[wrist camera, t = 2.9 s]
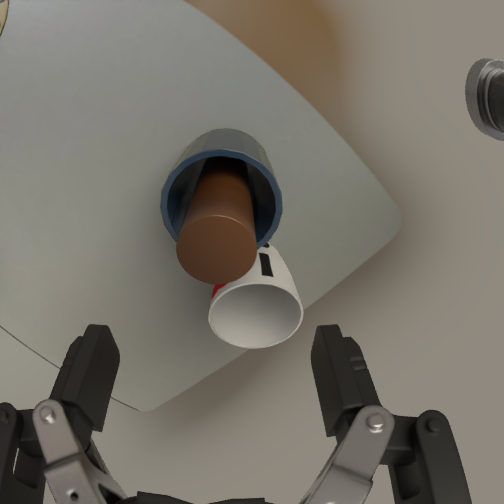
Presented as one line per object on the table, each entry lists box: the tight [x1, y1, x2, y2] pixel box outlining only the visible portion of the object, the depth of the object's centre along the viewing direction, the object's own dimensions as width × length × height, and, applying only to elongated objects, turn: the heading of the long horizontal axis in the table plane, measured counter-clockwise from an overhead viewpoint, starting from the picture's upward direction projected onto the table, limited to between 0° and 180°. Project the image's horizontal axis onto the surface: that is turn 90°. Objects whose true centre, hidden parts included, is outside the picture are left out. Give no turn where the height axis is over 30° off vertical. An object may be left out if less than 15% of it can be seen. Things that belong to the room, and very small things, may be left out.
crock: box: [160, 129, 282, 250], centre depth 25 cm, size 9×9×9 cm
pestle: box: [176, 156, 257, 284], centre depth 22 cm, size 4×4×14 cm
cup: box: [208, 242, 303, 349], centre depth 30 cm, size 8×8×10 cm
